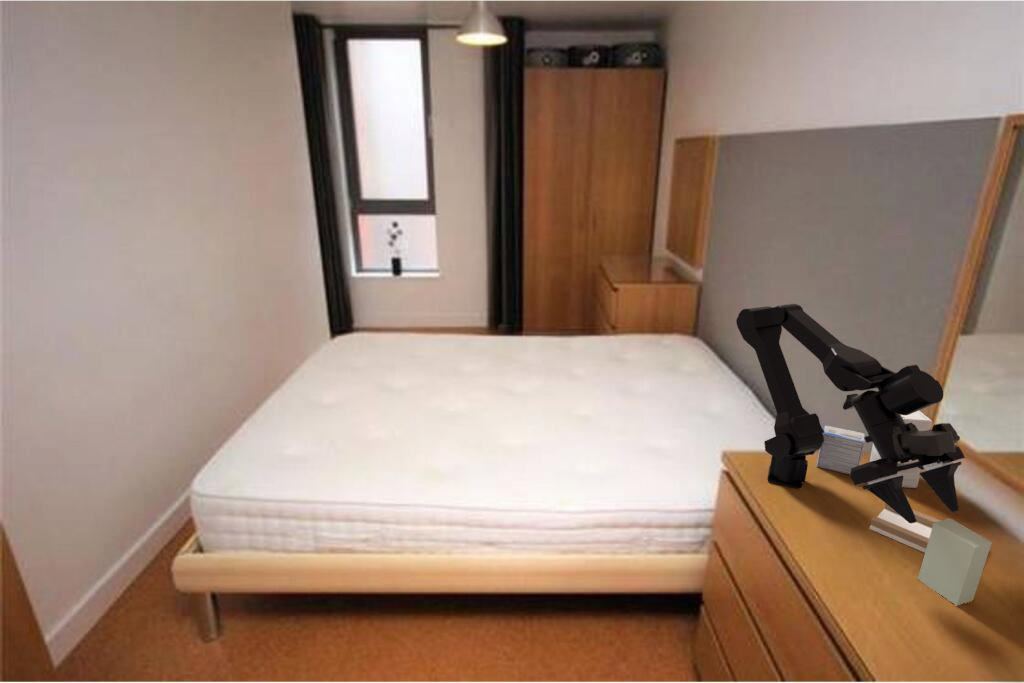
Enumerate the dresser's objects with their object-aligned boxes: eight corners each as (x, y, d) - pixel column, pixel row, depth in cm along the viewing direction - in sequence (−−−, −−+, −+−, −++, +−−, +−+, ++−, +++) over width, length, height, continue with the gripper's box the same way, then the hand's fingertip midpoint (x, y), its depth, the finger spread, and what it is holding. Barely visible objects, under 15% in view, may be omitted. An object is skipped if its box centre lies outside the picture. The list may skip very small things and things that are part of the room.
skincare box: (917, 489, 111) (935, 422, 106) (881, 486, 112) (898, 419, 107) (898, 467, 118) (914, 403, 113) (865, 465, 120) (879, 401, 115)
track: (869, 528, 99) (871, 520, 99) (887, 506, 105) (889, 499, 105) (964, 569, 89) (967, 561, 89) (978, 542, 95) (980, 534, 95)
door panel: (917, 579, 87) (933, 522, 84) (933, 574, 88) (949, 518, 85) (956, 606, 82) (975, 547, 78) (972, 601, 83) (992, 542, 79)
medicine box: (857, 467, 119) (865, 433, 116) (857, 477, 115) (865, 441, 112) (817, 458, 123) (824, 424, 120) (815, 467, 119) (822, 432, 116)
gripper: (880, 416, 82) (936, 520, 76) (967, 399, 88) (1026, 495, 81) (828, 438, 92) (875, 532, 85) (909, 422, 97) (959, 509, 91)
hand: (934, 516), depth 85 cm, fingers open, 9 cm apart
